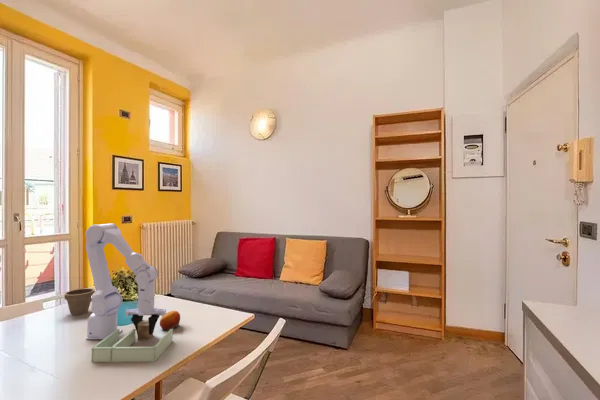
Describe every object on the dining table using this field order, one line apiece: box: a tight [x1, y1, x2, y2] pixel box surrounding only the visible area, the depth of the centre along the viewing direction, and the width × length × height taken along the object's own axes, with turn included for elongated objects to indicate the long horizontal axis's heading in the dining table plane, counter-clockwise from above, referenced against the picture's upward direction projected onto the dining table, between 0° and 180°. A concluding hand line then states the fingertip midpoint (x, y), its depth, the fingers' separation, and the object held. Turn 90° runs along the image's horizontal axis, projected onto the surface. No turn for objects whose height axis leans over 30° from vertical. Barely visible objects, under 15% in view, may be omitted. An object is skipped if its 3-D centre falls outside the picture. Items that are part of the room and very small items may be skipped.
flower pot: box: [64, 287, 96, 316], centre depth 138 cm, size 12×11×10 cm
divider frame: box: [91, 328, 174, 363], centre depth 103 cm, size 21×15×4 cm
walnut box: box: [137, 319, 154, 341], centre depth 114 cm, size 4×4×6 cm
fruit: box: [159, 310, 181, 331], centre depth 123 cm, size 8×8×8 cm
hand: (145, 333), depth 114 cm, fingers closed on walnut box, 4 cm apart
